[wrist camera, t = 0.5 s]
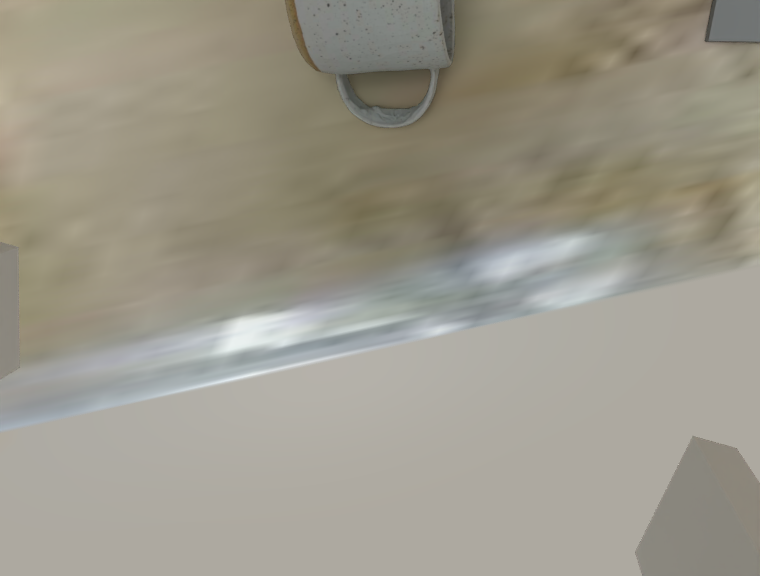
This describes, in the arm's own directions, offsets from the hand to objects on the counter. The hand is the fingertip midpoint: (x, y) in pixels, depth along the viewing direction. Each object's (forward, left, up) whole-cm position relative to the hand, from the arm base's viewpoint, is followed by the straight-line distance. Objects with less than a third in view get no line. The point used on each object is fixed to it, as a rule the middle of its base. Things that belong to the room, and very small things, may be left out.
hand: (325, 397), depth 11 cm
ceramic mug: (-9, -3, -29) cm, 30 cm away
